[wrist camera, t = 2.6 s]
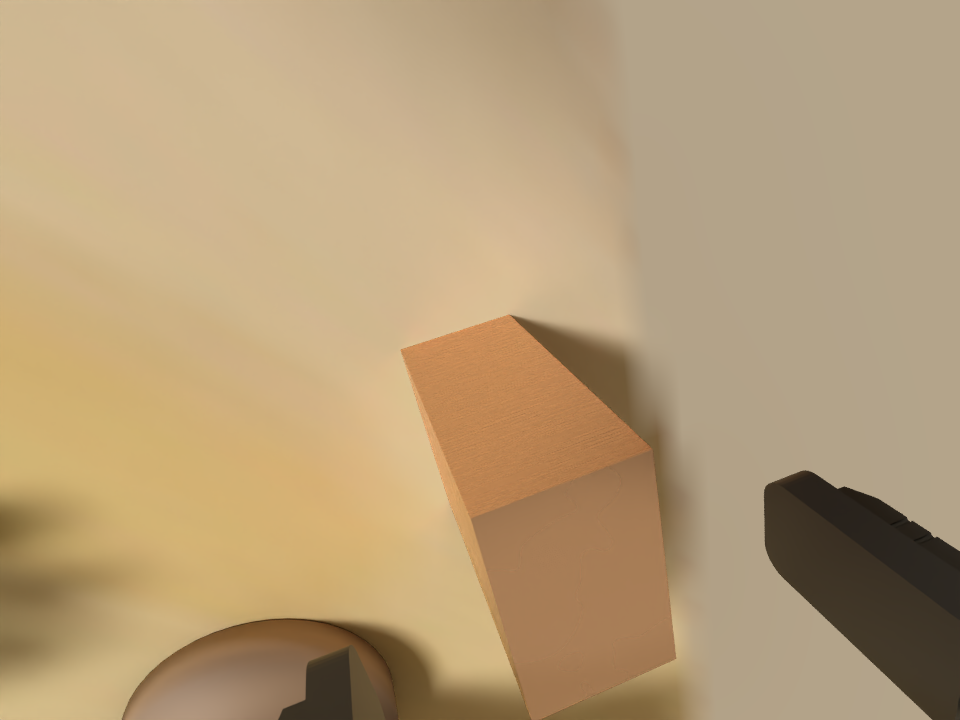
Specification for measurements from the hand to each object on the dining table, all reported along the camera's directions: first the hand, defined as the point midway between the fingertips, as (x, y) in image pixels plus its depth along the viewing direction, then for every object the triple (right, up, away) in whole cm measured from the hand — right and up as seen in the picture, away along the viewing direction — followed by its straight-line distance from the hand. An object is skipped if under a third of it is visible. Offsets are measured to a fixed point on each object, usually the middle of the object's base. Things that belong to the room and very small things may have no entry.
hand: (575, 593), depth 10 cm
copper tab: (-2, +3, +5) cm, 6 cm away
